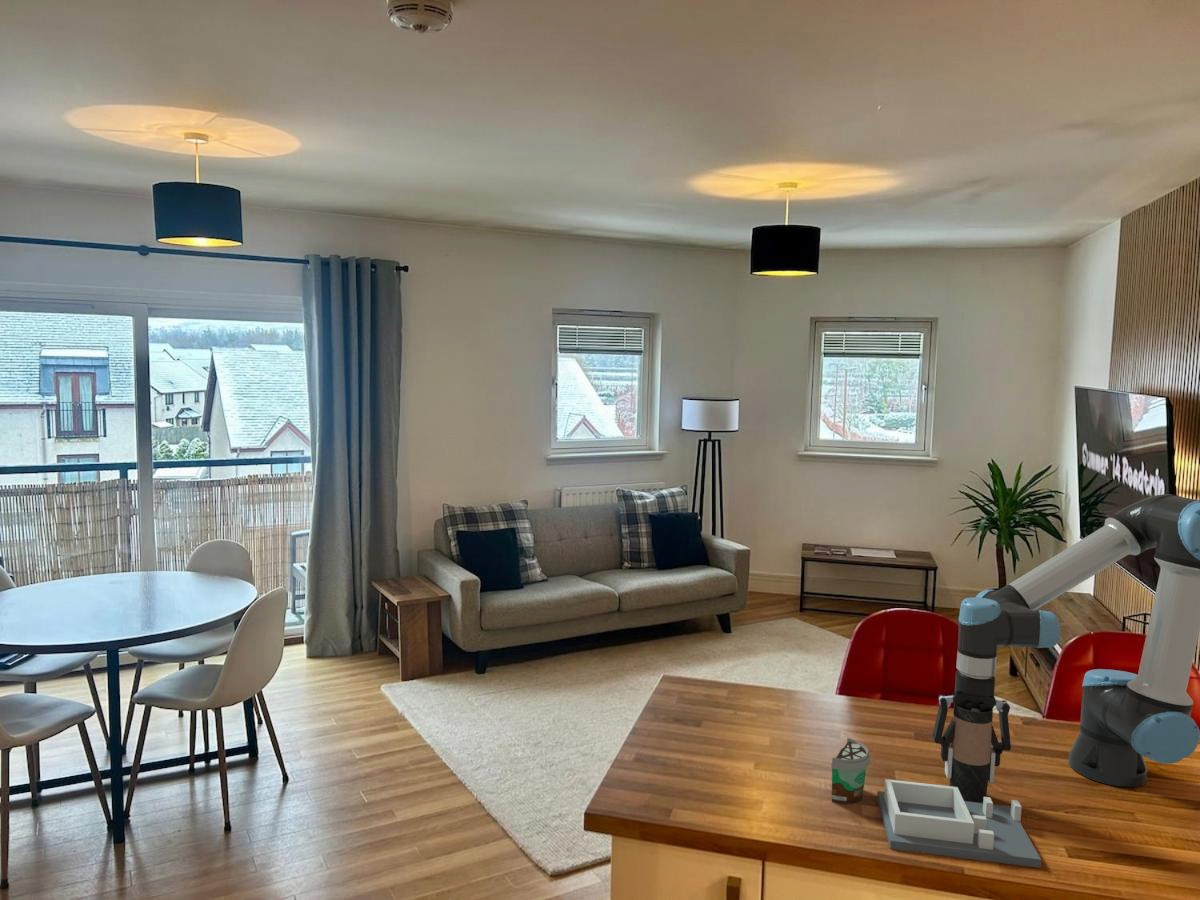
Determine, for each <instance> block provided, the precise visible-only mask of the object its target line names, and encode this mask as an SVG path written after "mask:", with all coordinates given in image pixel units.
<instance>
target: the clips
mask: <svg viewBox="0 0 1200 900" xmlns="http://www.w3.org/2000/svg"><path fill="white" fill-rule="evenodd" d="M993 804H994V803H993V801H992V798H991V797H990V796H989V797H988V796H986V797H984V798H983V813H984V815H985V816H978V815H972V820H973V822H974V833H977V834H978V847H979V848H982V849H990V850H993V843H994V833H993V831H990V830H986V824H987V819H986V817H988V818H992V813H993ZM1010 804H1011V805H1010V806H1011V816H1012V818H1013V820H1014V821H1020V822H1022V821H1021V818H1022V807H1023V806H1022V805H1021V803H1020V802H1019V800H1018V799H1017V800H1014V799H1011V803H1010Z"/></svg>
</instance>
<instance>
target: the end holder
mask: <svg viewBox="0 0 1200 900" xmlns="http://www.w3.org/2000/svg"><path fill="white" fill-rule="evenodd" d="M883 792H884V799H885V803H886V806H887V810H888V813H889V817H890V821H891V824H892V828H893V832H894V834H897V835H905V836H913V837H921V838H929V839H937V840H945V841H953V842H961V843H969V844H973V835H974V822H973V820H972V817H971V815H970V813H969V811H968V809H967V807H966V804H965V802H964V800H963V798H962V796H961V794H960V791H959V789H958V787H952V786H950V785H944V784H943V785H941V784H933V783H926V782H925V783H923V782H916V781H907V780H898V779H897V780H896V779H888V778H885V779H884V791H883ZM897 801H898V802H906V803H915V804H923V805H932V806H940V807H949V808H952V809H953V811H954V813H955V816H956V818H957V819H955V818H946V817H938V816H930V815H921V814H913V813H905V812H900V810H899V807H898V804H897Z"/></svg>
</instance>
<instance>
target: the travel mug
mask: <svg viewBox="0 0 1200 900" xmlns="http://www.w3.org/2000/svg"><path fill="white" fill-rule="evenodd" d="M993 714H994V707H993V708H992V710H991V711H989V712H981V711H980V709H974V708H971V710H970V711H969V710H966V709H963V708H961V707H959V706H957V705H956V704H955V703H954V702H953V713H952V718H953V721H954V722H955V721H956V725H955V736H954V738H953V740H952V742H951V746H952V748H953V756H952V772H951V778H949V786H952V787H958V789H959V791H960V794H961V796H962V798H963V800H964V801H968V802H976V803H983V798H984V797H988V796H987V795H988V794H987V793H988V787H989V781H988V777H989V767H990V754H991V748H992V743H991V735H992V726H993Z"/></svg>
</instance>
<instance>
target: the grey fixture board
mask: <svg viewBox="0 0 1200 900" xmlns="http://www.w3.org/2000/svg"><path fill="white" fill-rule="evenodd" d="M876 792H877V794H876V795H877V796H876V797H877V798H876V799H877V804H878V806H879V807H878V808H879V810H880V815H881V819H882V822H883V823H882V824H883V826H884V827H883V828H884V831H885V833H886V838H887V842H888V845H889V849H890V850H897V851H904V850H905V851H906V852H912V851H913V853H919V852H924V853H923V854H927V853H929V855H936V856H937V855H938V856H943V855H944V857H951V856H952V858H957V859H958V858H959V859H968V860H975V861H983V862H989V863H991V862H992V863H997V864H1006V865H1015V866H1021V867H1022V866H1023V867H1029V868H1030V867H1031V868H1036V869H1037V868H1038V869H1041V866H1042V859H1041V857H1040V855H1039V854H1038V851H1037V850H1036V848H1035V846H1034V844H1033V843H1032V840H1031V839H1030V837H1029V836H1028V834H1027V832H1026V830H1025V828H1024V827H1023V825H1022V823H1021V821H1014V820H1013V818H1012V816H1011V805H1010V806H1008V805H1001V804H994V803H993V813H992V818H988V817H986V819H987V824H986V830H990V831H993V833H994V843H993V850H990V849H982V848H979V847H978V834H977V833H974V835H973V844H969V843H961V842H953V841H945V840H937V839H929V838H921V837H913V836H905V835H897V834H894V832H893V828H892V824H891V821H890V817H889V813H888V810H887V806H886V803H885V799H884V791H880V790H877V791H876ZM964 802H965V804H966V807H967V809H968V811H969V813H970V815H971V817H972V815H978V816H985V815H984V813H983V803H976V802H968V801H964ZM897 804H898V807H899V810H900V812H905V813H913V814H921V815H930V816H938V817H946V818H955V819H957V818H956V816H955V813H954V811H953V809H952V808H949V807H940V806H932V805H923V804H915V803H906V802H898V801H897ZM905 851H904V852H905Z"/></svg>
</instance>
